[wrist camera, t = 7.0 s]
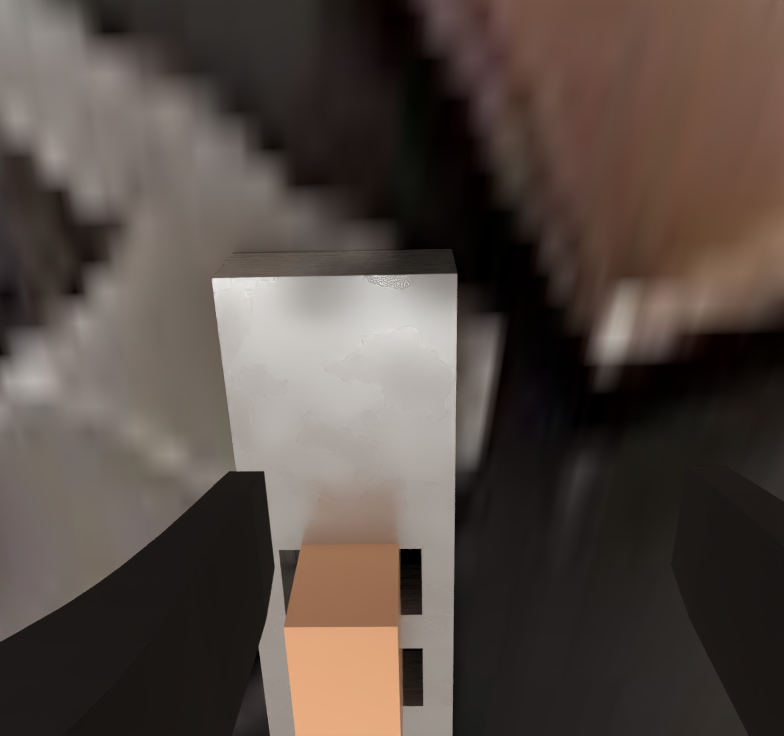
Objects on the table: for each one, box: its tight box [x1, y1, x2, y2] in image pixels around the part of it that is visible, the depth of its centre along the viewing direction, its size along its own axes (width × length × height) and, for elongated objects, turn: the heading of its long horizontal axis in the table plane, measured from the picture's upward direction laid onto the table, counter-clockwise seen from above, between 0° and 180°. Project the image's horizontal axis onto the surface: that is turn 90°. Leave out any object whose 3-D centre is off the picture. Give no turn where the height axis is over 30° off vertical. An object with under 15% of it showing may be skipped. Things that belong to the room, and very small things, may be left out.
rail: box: [212, 249, 457, 736], centre depth 25 cm, size 6×24×2 cm, turn 1°
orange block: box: [284, 544, 403, 736], centre depth 23 cm, size 3×6×6 cm, turn 1°
